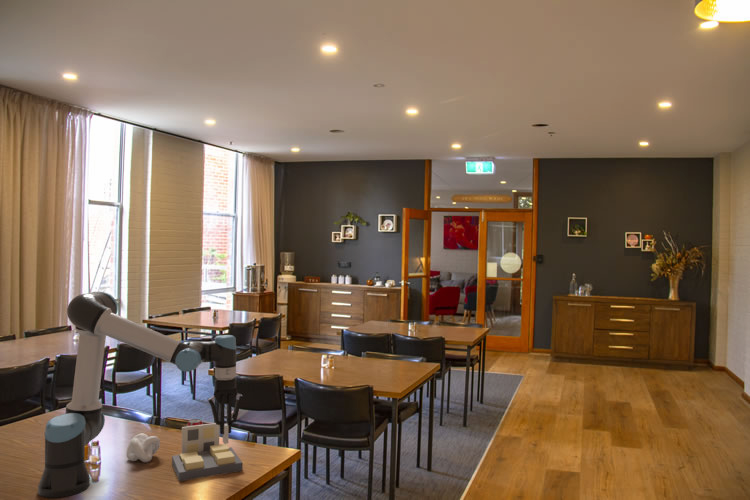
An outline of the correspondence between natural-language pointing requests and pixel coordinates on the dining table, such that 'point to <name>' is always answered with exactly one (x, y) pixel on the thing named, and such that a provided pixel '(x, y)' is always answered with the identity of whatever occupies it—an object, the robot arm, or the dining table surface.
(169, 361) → the robot arm
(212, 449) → the button
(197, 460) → the button
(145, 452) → the white knot
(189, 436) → the button board
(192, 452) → the button
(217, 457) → the button
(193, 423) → the beverage can
